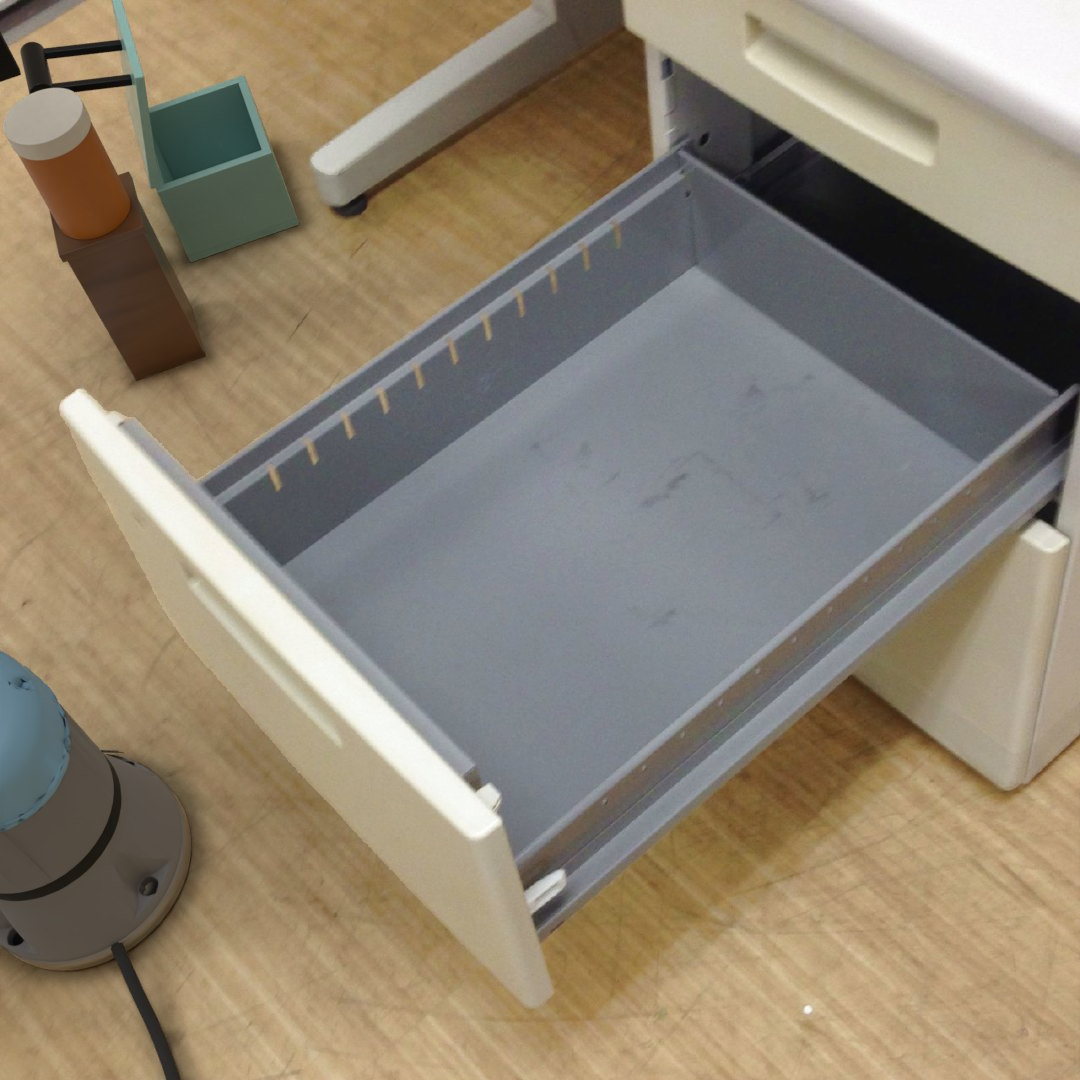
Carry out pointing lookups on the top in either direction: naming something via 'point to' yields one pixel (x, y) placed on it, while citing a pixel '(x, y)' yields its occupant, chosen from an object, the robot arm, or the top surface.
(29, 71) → the teal box lid
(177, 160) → the teal open box
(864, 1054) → the top surface
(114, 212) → the amber jar
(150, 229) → the plinth
